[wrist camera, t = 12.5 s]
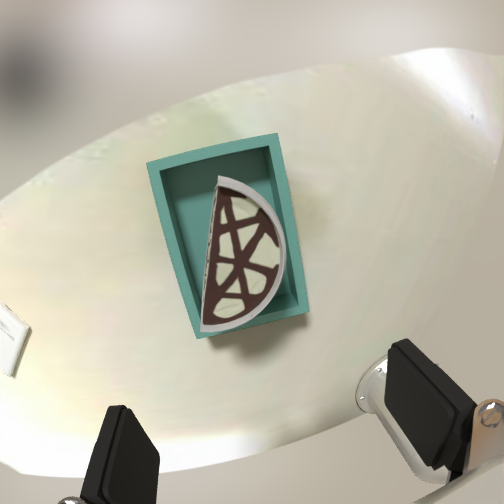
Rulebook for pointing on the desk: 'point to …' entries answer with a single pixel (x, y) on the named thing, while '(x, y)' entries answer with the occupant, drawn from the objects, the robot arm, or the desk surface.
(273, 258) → the food container
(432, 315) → the desk surface
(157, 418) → the desk surface
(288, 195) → the bin
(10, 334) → the external hard drive
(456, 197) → the desk surface
